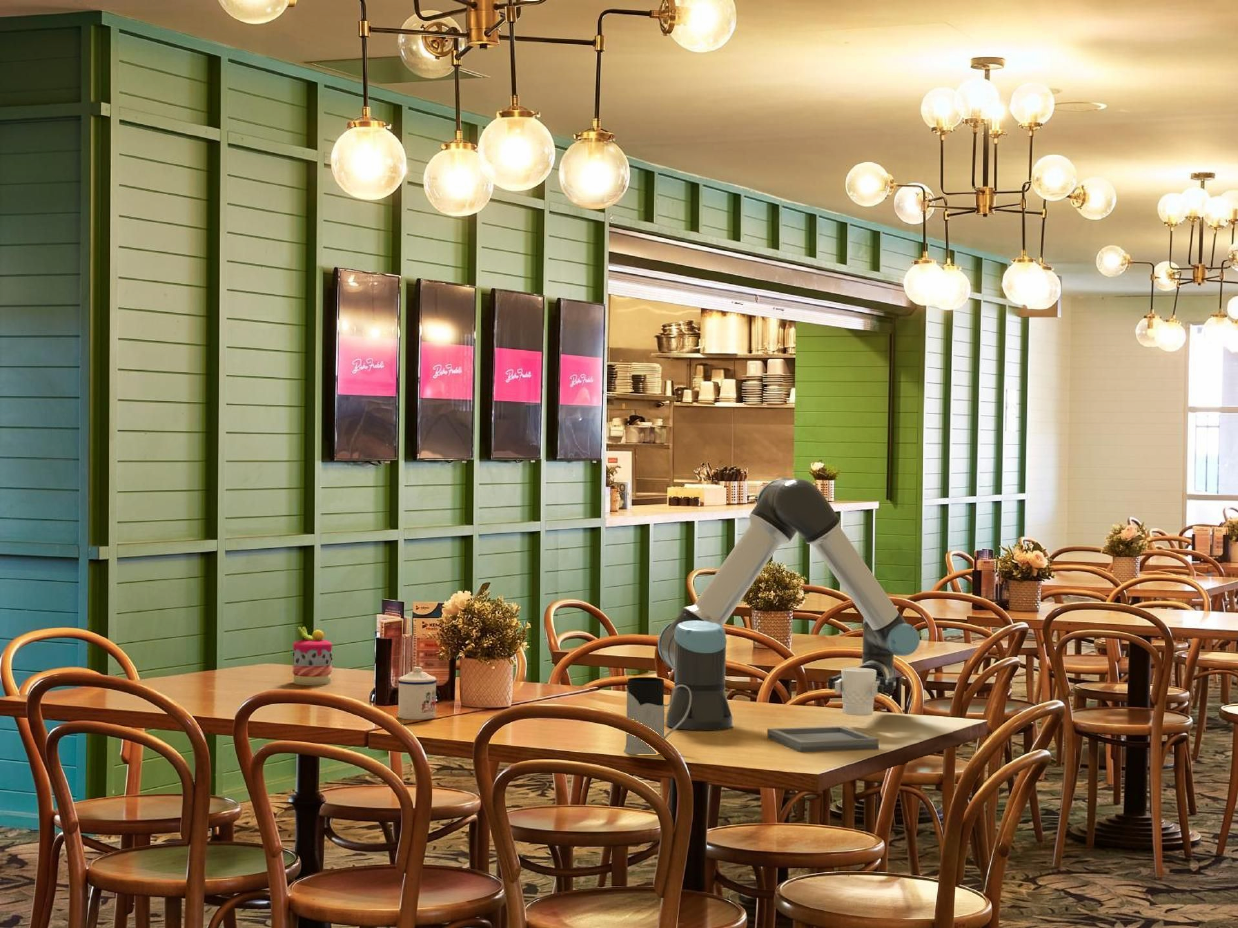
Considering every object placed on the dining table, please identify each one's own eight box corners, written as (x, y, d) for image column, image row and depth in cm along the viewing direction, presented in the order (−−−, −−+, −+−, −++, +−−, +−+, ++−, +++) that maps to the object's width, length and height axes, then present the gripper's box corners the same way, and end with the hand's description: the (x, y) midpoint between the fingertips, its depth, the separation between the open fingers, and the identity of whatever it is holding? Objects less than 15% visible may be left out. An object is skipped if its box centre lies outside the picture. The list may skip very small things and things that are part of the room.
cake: (332, 680, 434) (333, 625, 434) (330, 685, 424) (331, 629, 424) (293, 680, 433) (294, 625, 433) (290, 685, 423) (291, 629, 423)
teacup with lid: (428, 720, 366) (429, 670, 366) (391, 718, 368) (392, 668, 368) (446, 713, 377) (447, 664, 377) (410, 711, 379) (411, 662, 379)
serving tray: (800, 751, 331) (800, 742, 331) (767, 737, 349) (767, 728, 349) (878, 748, 337) (878, 739, 337) (842, 734, 354) (842, 725, 354)
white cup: (874, 717, 356) (875, 672, 356) (839, 715, 357) (840, 670, 358) (876, 712, 364) (877, 668, 364) (841, 710, 365) (842, 666, 365)
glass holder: (619, 748, 332) (620, 676, 332) (685, 746, 336) (686, 675, 336) (629, 755, 324) (630, 682, 324) (696, 754, 327) (697, 681, 327)
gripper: (914, 697, 374) (900, 709, 353) (827, 691, 381) (809, 702, 359) (915, 665, 374) (901, 675, 353) (828, 659, 381) (810, 669, 359)
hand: (854, 689), depth 356 cm, fingers closed on white cup, 8 cm apart
